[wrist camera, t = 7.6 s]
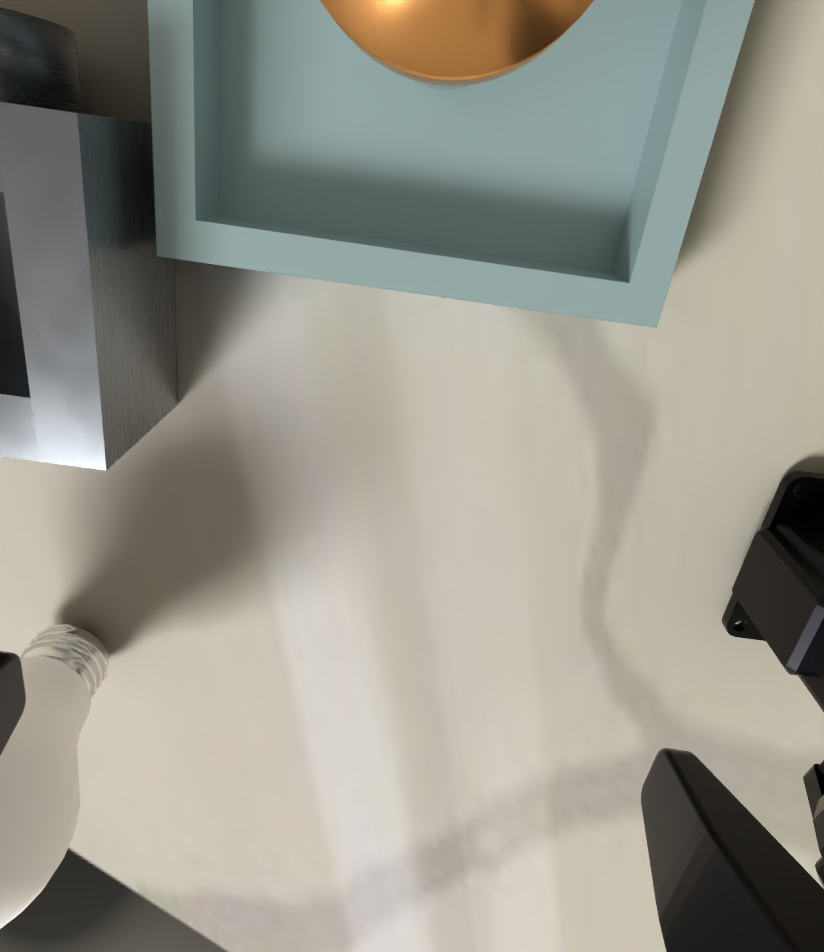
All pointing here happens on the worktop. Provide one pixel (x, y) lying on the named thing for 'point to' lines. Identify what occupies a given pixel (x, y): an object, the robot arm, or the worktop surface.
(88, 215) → the block
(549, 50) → the tray
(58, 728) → the light bulb
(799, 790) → the worktop surface
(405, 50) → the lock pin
